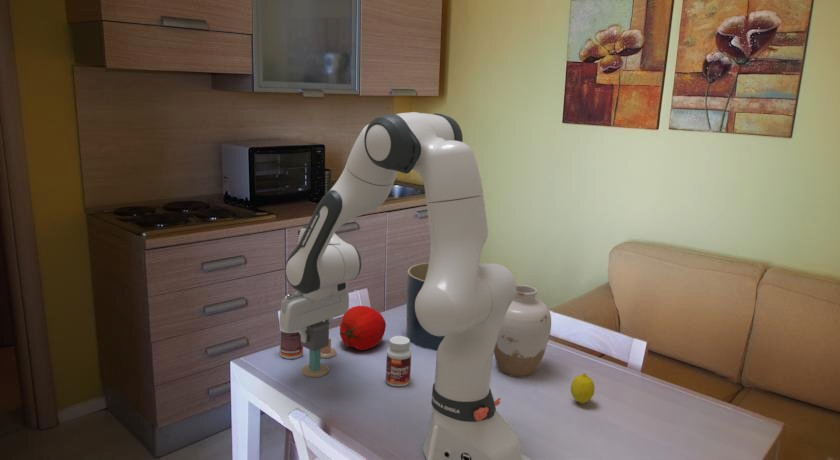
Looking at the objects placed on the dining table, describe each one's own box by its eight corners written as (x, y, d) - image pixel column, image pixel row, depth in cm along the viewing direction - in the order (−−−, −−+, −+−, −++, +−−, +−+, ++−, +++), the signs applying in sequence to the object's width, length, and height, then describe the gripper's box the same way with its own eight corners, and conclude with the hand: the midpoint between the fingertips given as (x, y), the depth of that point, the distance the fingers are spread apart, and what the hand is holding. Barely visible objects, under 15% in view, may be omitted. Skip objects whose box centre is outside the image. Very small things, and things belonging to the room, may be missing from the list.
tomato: (371, 346, 181) (341, 362, 171) (353, 307, 182) (323, 321, 172) (400, 333, 174) (371, 349, 163) (381, 293, 175) (352, 306, 164)
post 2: (341, 353, 168) (341, 338, 167) (324, 360, 164) (324, 344, 162) (326, 347, 172) (326, 332, 171) (309, 353, 167) (310, 338, 166)
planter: (440, 358, 168) (444, 289, 164) (389, 333, 184) (392, 269, 179) (493, 339, 183) (498, 275, 178) (441, 317, 199) (445, 258, 194)
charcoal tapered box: (328, 345, 156) (328, 323, 155) (313, 351, 152) (313, 329, 151) (315, 339, 159) (315, 318, 158) (300, 345, 155) (300, 323, 154)
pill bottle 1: (306, 356, 165) (306, 318, 163) (284, 361, 162) (284, 322, 159) (297, 348, 170) (297, 311, 168) (276, 352, 167) (276, 315, 164)
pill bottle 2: (389, 388, 150) (390, 346, 147) (383, 377, 156) (384, 336, 153) (412, 386, 152) (415, 344, 149) (406, 374, 158) (408, 334, 155)
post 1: (334, 371, 158) (334, 348, 156) (313, 380, 152) (313, 356, 151) (316, 362, 162) (316, 340, 160) (295, 371, 157) (295, 348, 155)
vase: (483, 377, 158) (489, 294, 153) (491, 353, 173) (497, 276, 168) (545, 387, 155) (553, 302, 149) (547, 361, 170) (555, 283, 164)
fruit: (564, 402, 148) (567, 371, 146) (578, 395, 151) (581, 365, 149) (583, 411, 143) (587, 380, 142) (597, 404, 147) (601, 374, 145)
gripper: (290, 299, 142) (290, 354, 145) (353, 281, 158) (352, 330, 161) (273, 292, 146) (273, 346, 149) (336, 275, 161) (335, 324, 165)
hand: (314, 338), depth 155 cm, fingers closed on charcoal tapered box, 5 cm apart
